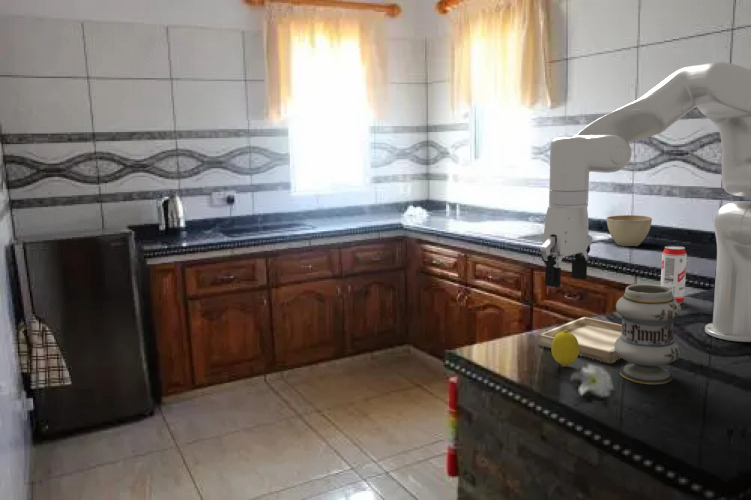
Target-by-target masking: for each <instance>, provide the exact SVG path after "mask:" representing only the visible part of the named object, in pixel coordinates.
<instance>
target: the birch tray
mask: <svg viewBox="0 0 751 500" xmlns="http://www.w3.org/2000/svg"><path fill="white" fill-rule="evenodd" d="M564 330H567V331H568V332H570V333H572V334H573V335H574V336H575V337H576V338H577V341H578V344H579V354H578V356H579V355H580V356H579V357H582V356H585V357H584V358H586V357H589V358H588V359H590V358H592V359H591V360H594V359H597V360H596V361H598V360H600V361H599V362H602V361H603V363H605V362H606V363H605V364H609V363H610V364H613V363H616V362H617V361H619V360H621V359H622V358H621V357H620V356H619V355H618V354H617V352H616V351H615V347H614V345H615V342H616V340H617V339H618V338H619V337H620V336H621V333H622V323H621V324H620V323H616V322H615V323H614V322H611V321H605V320H600V319H596V318H591V317H587V316H582V317H580V318H576V319H574V320H572V321H570V322H569V321H568V322H567V323H564V324H562V325H560V326H557V327H554V328H552V329H549V330H547V331H544V332H542V333H539V334H538V335H537V346H541V347H544V348H549V349H551V346H552V341H553V338H554V337H555V335H556V334H558V333H559V332H562V331H564ZM620 358H621V359H620ZM618 359H619V360H618ZM616 360H617V361H616Z"/></svg>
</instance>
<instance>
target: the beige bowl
mask: <svg viewBox="0 0 751 500" xmlns="http://www.w3.org/2000/svg"><path fill="white" fill-rule="evenodd" d="M652 222H653V218H652V217H651V216H646V215H639V214H638V215H634V214H630V215H629V214H627V215H622V214H621V215H610V216H607V217H606V224H607V229H608V231H609V234H610V236H611V238H612V239H613V241H614V243H616V244H617V245H618V246H619V245H620V246H619V247H624V246H635V247H639V246H640V245H641V244H642V242H643V241H644V240H645V239H646V238H647V236H648V234H649V232H650V229H651V227H652Z"/></svg>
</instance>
